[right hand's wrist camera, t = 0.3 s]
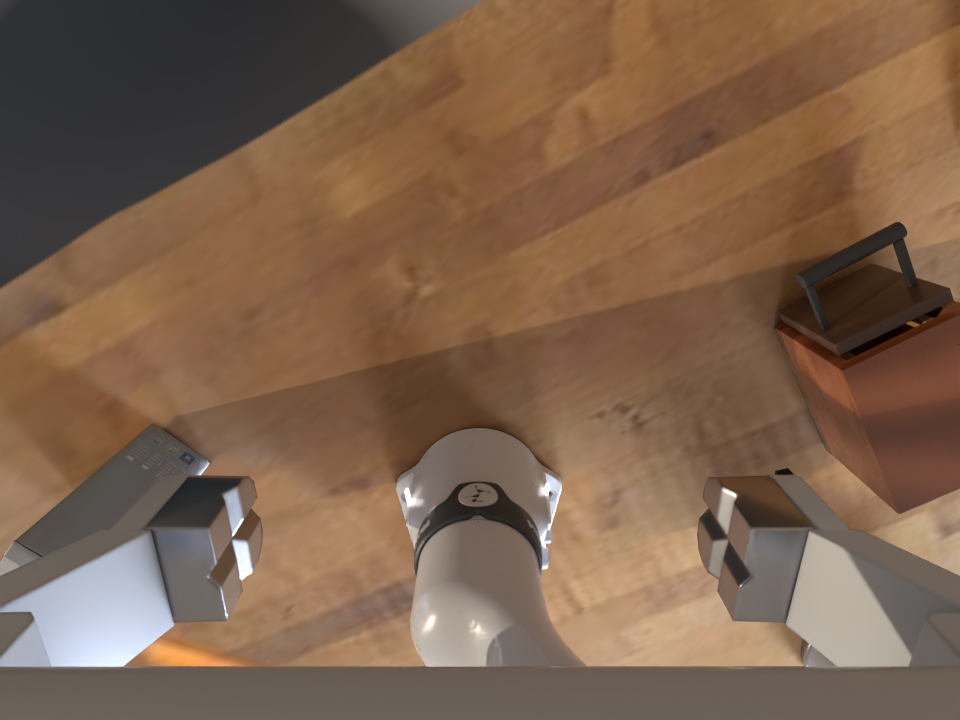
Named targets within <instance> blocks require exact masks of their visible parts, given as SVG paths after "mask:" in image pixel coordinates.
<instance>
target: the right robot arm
mask: <svg viewBox="0 0 960 720" xmlns="http://www.w3.org/2000/svg"><path fill="white" fill-rule="evenodd" d="M561 488H562V484H561V478H560V477H559V476H558V475H557V474H556V473H554V472H553V471H551V470H549V469H548V468H546V467H544V466H542V465H541V464H540V463H539V462H538V460H537V459H536V458H535V456H534V455H533V454H532V452H531V451H530V450H529V449H528V448H527V447H526V446H525V445H524V444H523V443H522V442H520V441H519V440H518V439H516V438H514V437H513V436H511V435H508V434H506V433H504V432H501V431H497V430H493V429H486V428H472V429H465V430H460V431H457V432H454V433H451V434H449V435H447V436H445V437H443V438H442V439H440V440H438V441H437V442H436V443H435V444H433V445H432V446H431V447H430V448H429V449H428V450H427V452H426V453H425V454H424V456H423V457H422V459H421V460H420V461H419V463H418V464H417V465H416V466H415V467H413V468H411V469H409V470H408V471H406V472H404V473H403V474H402V475H400V476H399V477H398V479H397V481H396V490H397V494H398V497H399V500H400V504H401V507H402V510H403V514H404V517H405V520H406V526H407V527H408V530H409V533H410V537H411V540H412V543H413V547H414V557H415V561H414V568H415V574H416V584H415V591H414V598H413V605H412V612H411V619H410V629H411V636H412V640H413V643H414V646H415V648H416V650H417V652H418V654H419V655H420V657H421V659H422V660H423V662H424V663H425V665H426V666H427V667H279V666H124V665H125V664H126V663H128V662H129V661H130V660H131V659H133V658H134V657H135V656H136V655H138V654H139V653H140V652H141V651H143V650H144V649H145V648H146V647H148V646H149V645H150V644H151V643H153V642H154V641H155V640H156V639H158V638H159V637H160V636H161V635H163V634H164V633H165V632H166V631H168V630H169V629H170V628H171V627H173V626H174V622H209V621H227V619H228V617H229V615H230V614H231V612H232V610H233V608H234V606H235V604H236V602H237V600H238V599H239V597H240V595H241V593H242V591H243V590H242V585H241V579H243V578H244V577H246V576H247V575H249V574H250V573H252V572H253V570H254V568H255V566H256V564H257V562H258V560H259V556H260V552H261V547H262V524H261V518H260V517H259V516H258V515H257V514H256V513H255V512H254V511H253V510H252V509H251V507H252V505H253V503H254V502H255V500H256V499H257V494H256V489H255V484H254V481H253V480H252V479H251V478H250V477H249V476H211V475H194V476H193V475H166V476H162V477H159V478H158V479H157V480H156V481H155V483H154V484H153V485H152V486H151V487H150V488H149V489H148V490H147V491H146V492H145V493H144V494H143V495H142V496H141V497H140V498H139V499H138V500H137V501H136V502H135V503H134V504H133V505H132V506H131V507H130V509H129V510H128V511H127V512H126V513H125V514H124V515H123V516H122V517H121V518H120V519H119V520H118V521H117V522H116V523H115V524H114V525H113V526H112V527H111V528H110V529H109V530H98V531H96V532H94V533H92V534H90V535H87V536H85V537H83V538H81V539H79V540H77V541H75V542H72V543H70V544H68V545H66V546H64V547H62V548H59V549H57V550H55V551H53V552H51V553H49V554H46V555H44V556H42V557H40V558H38V559H36V560H33V561H31V562H29V563H27V564H25V565H23V566H20V567H18V568H16V569H14V570H12V571H10V572H8V573H5V574H3V575H1V576H0V720H960V576H959V575H957V574H954V573H952V572H950V571H948V570H946V569H944V568H941V567H939V566H937V565H935V564H933V563H931V562H929V561H926V560H924V559H922V558H920V557H918V556H916V555H913V554H911V553H909V552H907V551H905V550H903V549H901V548H898V547H896V546H894V545H892V544H890V543H888V542H885V541H883V540H881V539H879V538H877V537H875V536H873V535H870V534H868V533H866V532H864V531H862V530H851V529H850V528H849V527H848V526H847V525H846V524H845V523H844V522H843V521H842V520H841V519H840V518H839V517H838V516H837V515H836V514H835V513H834V512H833V511H832V509H831V508H830V507H829V506H828V505H827V504H826V503H825V502H824V501H823V500H822V499H821V498H820V497H819V496H818V495H817V494H816V493H815V492H814V491H813V490H812V489H811V488H810V487H809V486H808V484H807V483H806V482H805V481H804V480H803V479H802V478H801V477H798V476H796V475H769V476H739V477H709V478H708V480H707V482H706V484H705V488H704V493H703V499H704V500H705V502H706V503H707V505H708V507H709V509H708V510H707V511H706V512H705V513H704V514H703V515H702V516H701V517H700V518H699V525H698V533H697V537H698V548H699V553H700V556H701V559H702V562H703V564H704V566H705V568H706V570H707V572H708V573H710V574H711V575H713V576H714V577H716V578H717V579H719V585H718V590H717V591H718V593H719V595H720V597H721V599H722V600H723V602H724V604H725V606H726V608H727V610H728V612H729V614H730V615H731V617H732V619H733V621H750V622H786V626H788V627H789V628H790V629H791V630H793V631H794V632H795V633H796V634H798V635H799V636H800V637H801V638H803V639H804V640H805V641H806V642H808V643H809V644H810V645H811V646H813V647H814V648H815V649H816V650H818V651H819V652H820V653H821V654H823V655H824V656H825V657H826V658H828V659H829V660H830V661H831V662H832V663H834V664H835V665H836V666H587V665H586V664H585V663H584V662H582V661H581V660H580V659H579V658H578V657H577V656H576V655H575V654H574V652H573V651H572V650H571V649H570V648H569V647H568V646H567V645H566V643H565V642H564V641H563V640H562V638H561V637H560V635H559V634H558V632H557V631H556V629H555V628H554V626H553V624H552V622H551V620H550V617H549V614H548V611H547V607H546V603H545V599H544V594H543V590H542V584H541V579H540V577H541V574H542V569H547V567H548V564H549V549H548V548H547V547H545V545H546V543H550V542H551V538H552V532H551V530H550V527H551V524H552V520H553V517H554V513H555V510H556V506H557V503H558V499H559V496H560V492H561ZM549 492H552V493H551V494H548V493H549Z"/></svg>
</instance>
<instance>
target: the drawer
mask: <svg viewBox="0 0 960 720" xmlns="http://www.w3.org/2000/svg"><path fill="white" fill-rule="evenodd" d="M906 235H907V230H906V228H905V227H904V225H903V224H901V223H900V222H895V223H894V224H892V225H890V226H888V227H886V228H884V229H882V230H880V231H878V232H876V233H874V234H872V235H870V236H869V237H867V238H865V239H863V240H861V241H859V242H857V243H855V244H853V245H851V246H849V247H847V248H846V249H844V250H842V251H840V252H838V253H836V254H834V255H832V256H830V257H828V258H826V259H824V260H823V261H821V262H819V263H817V264H815V265H813V266H811V267H809V268H807V269H805V270H803V271H801V272H800V273H798V274H796V280H797V282H798V283H799V285H800V286H801V287H802V288H805V290H806V293H807V295H808V297H807V298H805V299H803V300H801V301H799V302H797V303H795V304H793V305H791V306H789V307H787V308H785V309H783V310H781V311H779V315H780V317H781V320H782V321H783V322H784V323H786V324H788V325H789V326H791V327H793V328H794V329H796V330H798V331H799V332H801V333H802V334H804V335H806V336H807V337H809V338H811V339H812V340H814V341H816V342H817V343H819V344H821V345H822V346H824V347H826V348H827V349H829V350H831V351H832V352H834V353H836V354H837V355H839V356H841V357H842V358H844V359H846V360H849V359H851V358H853V357H855V356H857V355H859V354H861V353H863V352H865V351H867V350H869V349H872V348H874V347H876V346H878V345H880V344H882V343H884V342H886V341H888V340H890V339H892V338H894V337H896V336H898V335H900V334H902V333H905V332H907V331H909V330H911V329H913V328H915V327H917V326H919V325H921V324H923V323H925V322H927V321H929V320H931V319H933V317H930V316H928V315H925V314H926V313H928V312H930V311H932V310H934V309H936V308H938V307H940V306H942V305H945V304H947V303H949V302H951V301H953V297H952V294H951V291H950V288H947V287H944V286H941V285H938V284H935V283H931V282H928V281H925V280H922V279H919V278H916V276H915V273H914V270H913V267H912V264H911V261H910V258H909V255H908V252H907V248H906V245H905V242H904V239H903V238H904V237H906ZM892 243H893V246H894V249H895V252H896V255H897V258H898V261H899V264H900V267H901V270H902V273H900V272H897V271H894V270H891V269H887V268H884V267H881V266H878V265H875V264H871V265H869V266H867V267H865V268H863V269H861V270H859V271H857V272H855V273H853V274H851V275H849V276H848V277H846V278H844V279H842V280H840V281H838V282H836V283H834V284H832V285H830V286H828V287H826V288H824V289H822V290H820V291H818V292H816V290H815V287H814V285H813V284H815V283H816V282H818V281H820V280H822V279H824V278H826V277H828V276H830V275H832V274H834V273H836V272H838V271H840V270H842V269H844V268H846V267H848V266H849V265H851V264H853V263H855V262H857V261H859V260H861V259H863V258H865V257H867V256H869V255H871V254H873V253H875V252H877V251H879V250H881V249H882V248H884V247H886V246H888V245H890V244H892Z"/></svg>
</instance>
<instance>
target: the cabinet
mask: <svg viewBox="0 0 960 720" xmlns="http://www.w3.org/2000/svg"><path fill="white" fill-rule="evenodd" d="M925 315H928V316H930V317H933V319H931V320H929V321H927V322H925V323H923V324H921V325H919V326H917V327H915V328H913V329H911V330H909V331H907V332H905V333H902V334H900V335H898V336H896V337H894V338H892V339H890V340H888V341H886V342H884V343H882V344H880V345H878V346H876V347H874V348H872V349H869V350H867V351H865V352H863V353H861V354H859V355H857V356H855V357H853V358H851V359H849V360H846V359H844V358H842V357H841V356H839V355H837V354H836V353H834V352H832V351H831V350H829V349H827V348H826V347H824V346H822V345H821V344H819V343H817V342H816V341H814V340H812V339H811V338H809V337H807V336H806V335H804V334H802V333H801V332H799V331H798V330H796V329H794V328H793V327H791V326H789V325H788V324H786V323H784V322H783V323H781V324H779V325H777V326H775V327H774V329H775V331H776V333H777V336H778V338H779V341H780V343H781V345H782V348H783V350H784V352H785V355H786V357H787V359H788V362H789V364H790V366H791V369H792V371H793V373H794V376H795V378H796V380H797V383H798V385H799V387H800V390H801V392H802V394H803V397H804V399H805V401H806V404H807V406H808V408H809V411H810V413H811V415H812V418H813V420H814V422H815V425H816V427H817V429H818V432H819V434H820V437H821V439H822V441H823V444H824V446H825V448H826V450H827V451H828V452H829V453H830V454H832V455H833V456H834V457H835V458H836V459H838V460H839V461H840V462H841V463H842V464H843V465H844V466H845V467H846V468H848V469H849V470H850V471H851V472H852V473H853V474H854V475H855V476H857V477H858V478H859V479H860V480H861V481H862V482H863V483H864V484H865V485H867V486H868V487H869V488H870V489H871V490H872V491H873V492H874V493H875V494H877V495H878V496H879V497H880V498H881V499H882V500H883V501H884V502H885V503H887V504H888V505H889V506H890V507H891V508H892V509H893V510H894V511H895V512H896V513H898V514H902V513H904V512H906V511H909V510H911V509H913V508H916V507H918V506H920V505H923V504H925V503H927V502H930V501H932V500H934V499H937V498H939V497H941V496H944V495H946V494H948V493H951V492H953V491H956V490H958V489H960V303H959V302H956V301H951V302H949V303H947V304H945V305H942V306H940V307H938V308H936V309H934V310H932V311H930V312H928V313H926V314H925Z"/></svg>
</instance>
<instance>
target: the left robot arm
mask: <svg viewBox="0 0 960 720" xmlns="http://www.w3.org/2000/svg"><path fill="white" fill-rule="evenodd" d="M775 475H794V474H793V473H792V472H791V471H790V470H789V469H788V468H786V469H782V470H778V471H775ZM801 657H802V661H803V664H804V666H836V665H835V664H834V663H832V662H831V661H830V660H829V659H828V658H826V657H825V656H824V655H823V654H821V653H820V652H819V651H818V650H816V649H815V648H814V647H813V646H811V645H810V644H809V643H808V642H806V641H805V640H804V641H803V644H802V649H801Z"/></svg>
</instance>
